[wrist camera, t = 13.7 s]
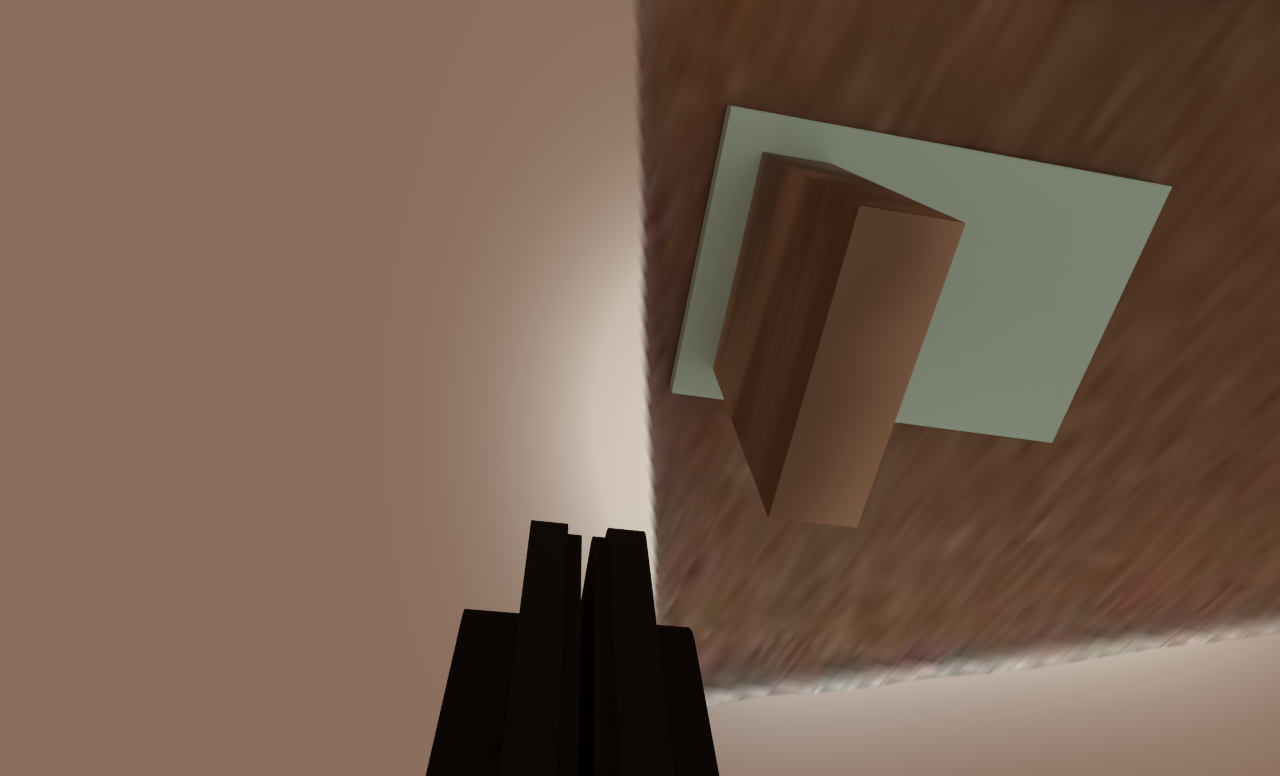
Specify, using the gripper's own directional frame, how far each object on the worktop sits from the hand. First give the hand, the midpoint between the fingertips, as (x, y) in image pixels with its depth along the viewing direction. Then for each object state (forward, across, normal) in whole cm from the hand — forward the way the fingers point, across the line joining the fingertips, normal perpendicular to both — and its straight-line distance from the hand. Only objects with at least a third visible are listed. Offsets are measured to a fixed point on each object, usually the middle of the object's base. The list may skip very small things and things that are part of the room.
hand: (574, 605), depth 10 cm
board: (+22, -8, 0) cm, 24 cm away
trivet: (+23, -15, 0) cm, 28 cm away
